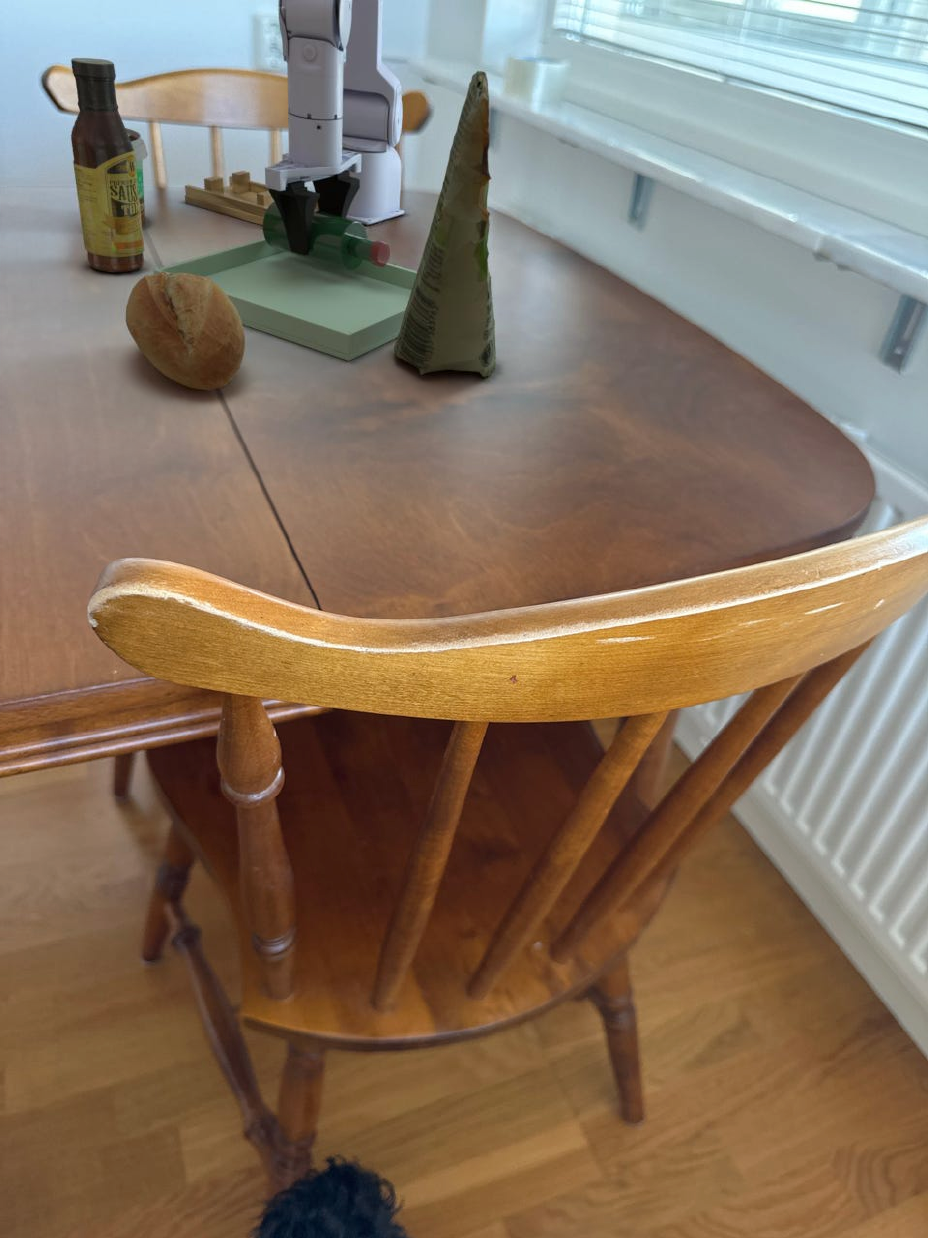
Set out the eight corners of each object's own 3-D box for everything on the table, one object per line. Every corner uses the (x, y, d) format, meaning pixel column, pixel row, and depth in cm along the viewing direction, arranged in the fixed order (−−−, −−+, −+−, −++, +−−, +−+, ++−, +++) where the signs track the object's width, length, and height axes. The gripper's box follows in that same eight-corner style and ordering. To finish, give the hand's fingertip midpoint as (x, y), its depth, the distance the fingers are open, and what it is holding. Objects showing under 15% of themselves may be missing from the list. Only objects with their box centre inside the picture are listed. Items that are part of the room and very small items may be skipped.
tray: (284, 254, 110) (283, 232, 108) (459, 307, 101) (461, 284, 100) (155, 294, 95) (152, 269, 93) (348, 361, 86) (349, 334, 85)
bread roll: (155, 408, 74) (143, 313, 70) (116, 341, 84) (104, 253, 79) (266, 395, 79) (263, 304, 74) (217, 332, 89) (211, 249, 84)
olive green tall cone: (449, 332, 95) (475, 58, 80) (530, 373, 89) (576, 83, 73) (367, 352, 88) (378, 57, 73) (448, 397, 82) (478, 85, 67)
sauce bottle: (129, 278, 98) (102, 67, 86) (76, 269, 98) (42, 58, 86) (157, 262, 103) (136, 61, 91) (106, 253, 104) (78, 52, 91)
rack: (234, 191, 130) (233, 165, 128) (322, 216, 125) (322, 189, 123) (184, 202, 123) (182, 175, 121) (276, 229, 118) (275, 200, 116)
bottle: (291, 242, 107) (290, 196, 104) (395, 273, 102) (398, 225, 99) (263, 251, 104) (261, 203, 100) (369, 283, 99) (371, 234, 95)
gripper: (326, 102, 101) (326, 228, 109) (239, 113, 91) (246, 252, 99) (378, 113, 99) (373, 241, 107) (294, 127, 88) (296, 267, 97)
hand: (315, 247), depth 103 cm, fingers closed on bottle, 5 cm apart
